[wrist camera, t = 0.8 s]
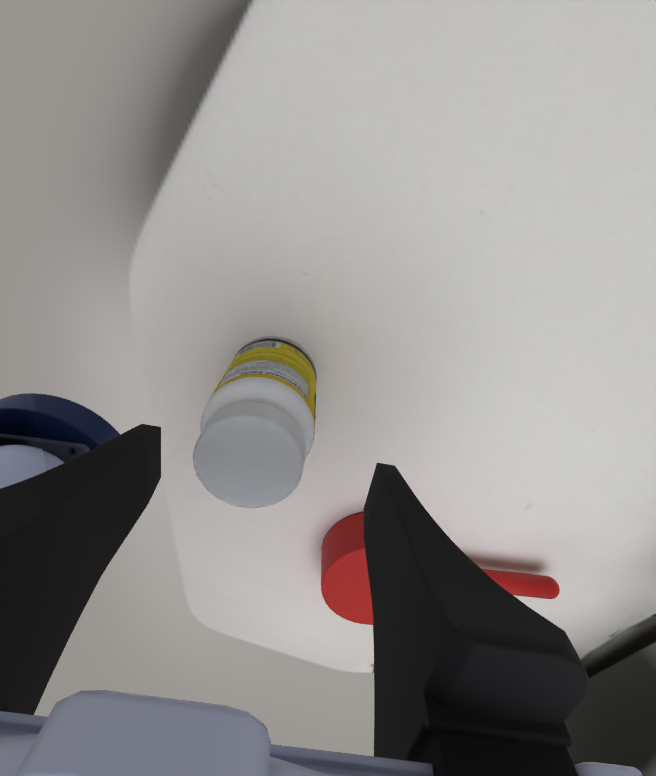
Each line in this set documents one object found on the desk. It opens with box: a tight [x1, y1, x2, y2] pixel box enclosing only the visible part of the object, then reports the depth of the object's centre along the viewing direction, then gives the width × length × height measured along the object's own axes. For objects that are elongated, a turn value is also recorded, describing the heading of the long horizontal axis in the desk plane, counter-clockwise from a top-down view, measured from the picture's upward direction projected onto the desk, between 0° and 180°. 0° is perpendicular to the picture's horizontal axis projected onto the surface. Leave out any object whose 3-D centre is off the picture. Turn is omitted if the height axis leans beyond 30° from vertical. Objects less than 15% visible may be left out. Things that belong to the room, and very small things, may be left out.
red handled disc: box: [321, 512, 559, 625], centre depth 26 cm, size 16×7×3 cm, turn 81°
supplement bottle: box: [193, 337, 316, 508], centre depth 18 cm, size 5×5×8 cm
